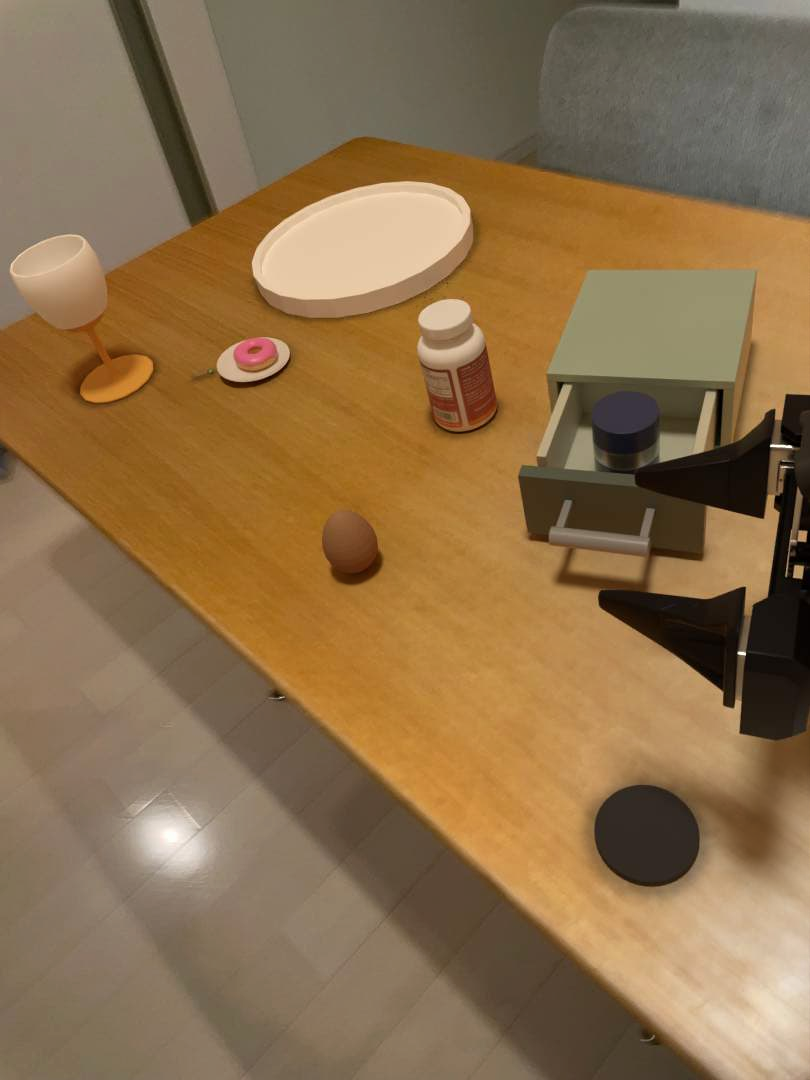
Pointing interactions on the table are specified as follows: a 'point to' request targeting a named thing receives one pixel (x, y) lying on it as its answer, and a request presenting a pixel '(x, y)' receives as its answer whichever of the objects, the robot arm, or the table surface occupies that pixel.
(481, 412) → the pill bottle
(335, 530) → the egg
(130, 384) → the cup
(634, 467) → the can
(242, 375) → the donut
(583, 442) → the drawer
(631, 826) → the coaster
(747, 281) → the pale olive box
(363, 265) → the plate
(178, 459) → the table surface
